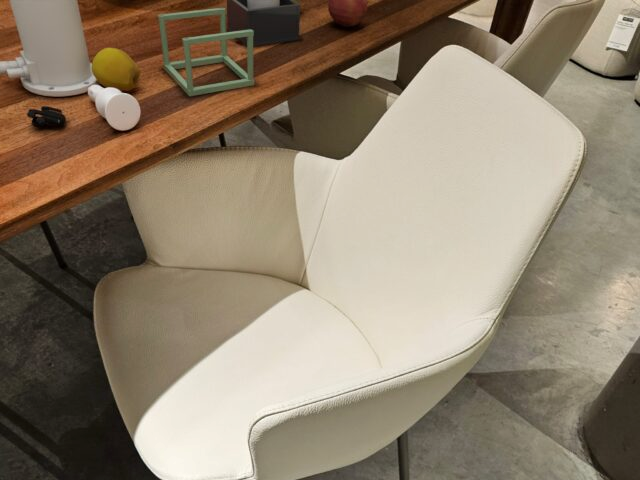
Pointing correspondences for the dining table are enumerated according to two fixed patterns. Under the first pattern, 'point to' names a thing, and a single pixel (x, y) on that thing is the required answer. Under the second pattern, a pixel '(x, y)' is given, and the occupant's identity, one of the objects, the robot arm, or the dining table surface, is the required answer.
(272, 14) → the dark grey storage box
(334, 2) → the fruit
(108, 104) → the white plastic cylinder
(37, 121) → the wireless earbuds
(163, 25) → the rack
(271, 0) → the travel mug
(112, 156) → the dining table surface
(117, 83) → the lemon
